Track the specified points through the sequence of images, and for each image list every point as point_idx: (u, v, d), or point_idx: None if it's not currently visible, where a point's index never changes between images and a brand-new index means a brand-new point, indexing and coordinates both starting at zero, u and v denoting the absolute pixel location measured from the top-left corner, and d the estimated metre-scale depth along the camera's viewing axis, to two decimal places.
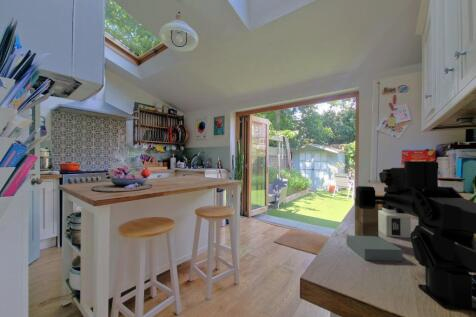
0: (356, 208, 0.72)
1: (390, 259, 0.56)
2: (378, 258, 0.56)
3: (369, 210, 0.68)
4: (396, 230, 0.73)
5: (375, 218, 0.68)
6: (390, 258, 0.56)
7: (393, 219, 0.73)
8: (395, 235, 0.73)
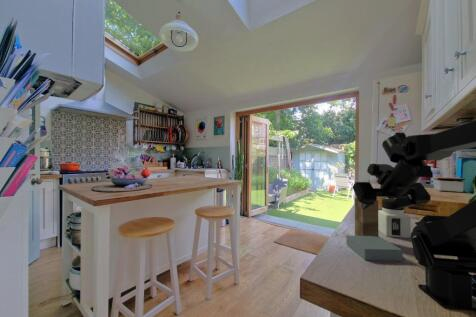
0: (356, 208, 0.72)
1: (390, 259, 0.56)
2: (378, 258, 0.56)
3: (369, 210, 0.68)
4: (396, 230, 0.73)
5: (375, 218, 0.68)
6: (390, 258, 0.56)
7: (393, 219, 0.73)
8: (395, 235, 0.73)
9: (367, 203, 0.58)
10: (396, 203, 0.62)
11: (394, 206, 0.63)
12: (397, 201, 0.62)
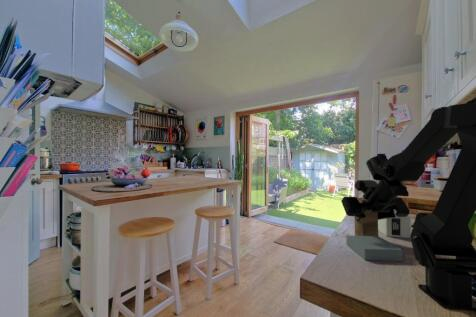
0: None
1: (390, 259, 0.56)
2: (378, 258, 0.56)
3: None
4: (396, 230, 0.73)
5: (375, 218, 0.68)
6: (390, 258, 0.56)
7: (393, 219, 0.73)
8: (395, 235, 0.73)
9: (360, 216, 0.65)
10: None
11: None
12: None
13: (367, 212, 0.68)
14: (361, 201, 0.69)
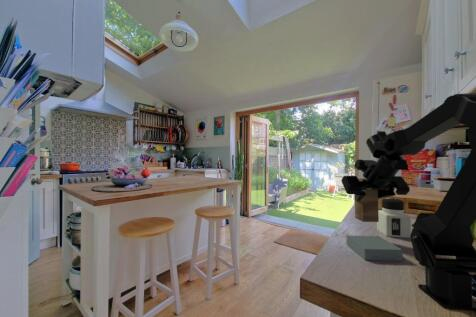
0: None
1: (390, 259, 0.56)
2: (378, 258, 0.56)
3: (369, 189, 0.68)
4: (396, 230, 0.73)
5: (375, 197, 0.68)
6: (390, 258, 0.56)
7: (393, 219, 0.73)
8: (395, 235, 0.73)
9: (360, 194, 0.65)
10: None
11: None
12: None
13: (367, 191, 0.68)
14: (361, 180, 0.69)
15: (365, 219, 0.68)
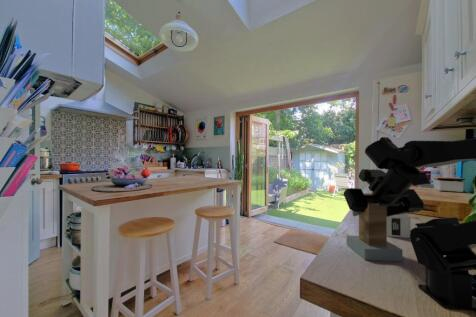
0: None
1: (390, 259, 0.56)
2: (378, 258, 0.56)
3: (376, 207, 0.58)
4: (396, 230, 0.73)
5: (383, 217, 0.58)
6: (390, 258, 0.56)
7: (393, 219, 0.73)
8: (395, 235, 0.73)
9: (358, 211, 0.55)
10: (389, 210, 0.60)
11: (387, 213, 0.61)
12: (390, 208, 0.60)
13: (374, 210, 0.58)
14: None
15: (371, 242, 0.58)
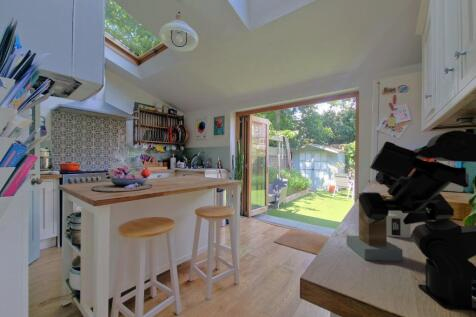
0: (360, 205, 0.62)
1: (390, 259, 0.56)
2: (378, 258, 0.56)
3: None
4: (396, 230, 0.73)
5: None
6: (390, 258, 0.56)
7: (393, 219, 0.73)
8: (395, 235, 0.73)
9: (376, 218, 0.48)
10: (410, 217, 0.53)
11: (407, 220, 0.53)
12: (412, 215, 0.52)
13: None
14: None
15: (371, 242, 0.58)
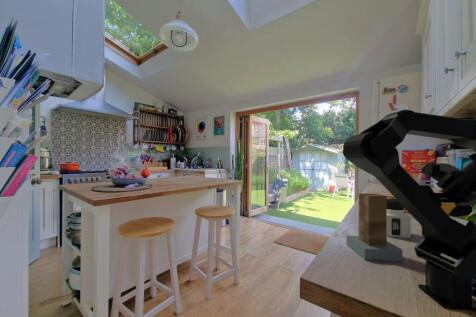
0: (360, 205, 0.62)
1: (390, 259, 0.56)
2: (378, 258, 0.56)
3: (376, 207, 0.58)
4: (396, 230, 0.73)
5: (383, 217, 0.58)
6: (390, 258, 0.56)
7: (393, 219, 0.73)
8: (395, 235, 0.73)
9: None
10: (457, 210, 0.52)
11: (454, 214, 0.52)
12: (459, 208, 0.51)
13: (374, 210, 0.58)
14: (367, 197, 0.59)
15: (371, 242, 0.58)
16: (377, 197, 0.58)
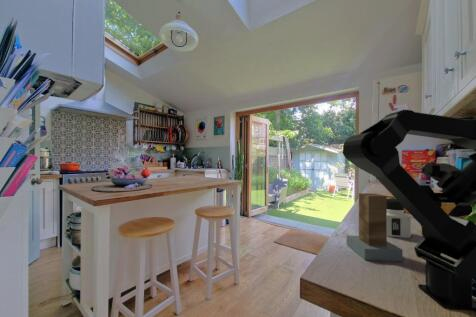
0: (360, 205, 0.62)
1: (390, 259, 0.56)
2: (378, 258, 0.56)
3: (376, 207, 0.58)
4: (396, 230, 0.73)
5: (383, 217, 0.58)
6: (390, 258, 0.56)
7: (393, 219, 0.73)
8: (395, 235, 0.73)
9: None
10: (457, 210, 0.52)
11: (454, 214, 0.52)
12: (459, 208, 0.51)
13: (374, 210, 0.58)
14: (367, 197, 0.59)
15: (371, 242, 0.58)
16: (377, 197, 0.58)
